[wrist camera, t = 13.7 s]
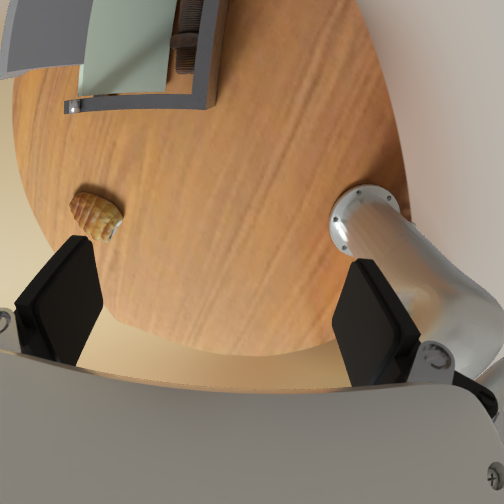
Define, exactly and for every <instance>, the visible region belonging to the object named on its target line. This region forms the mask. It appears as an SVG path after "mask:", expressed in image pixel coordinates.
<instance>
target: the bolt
mask: <svg viewBox="0 0 504 504" xmlns="http://www.w3.org/2000/svg"><path fill="white" fill-rule="evenodd" d="M203 2H204V0H181V4H180V5H181V6H180V15H179V16H180V17H179V24H178V25H179V26H178V27H179V28H178V33H177V34H175V35H173V36H172V37H171V38H170V47H171V48H172V49H174V50H177V52H176V53H177V54H176V55H177V56H176V60H177V61H176V66H175V67H176V68H175V69H176V72H177V73H178V74H188V73H190V74H194V67H195V59H196V51H197V43H198V36H199V28H200V22H201V15H202V9H203Z"/></svg>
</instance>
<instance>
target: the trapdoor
mask: <svg viewBox="0 0 504 504" xmlns="http://www.w3.org/2000/svg"><path fill="white" fill-rule="evenodd" d="M176 3H177V0H10V2H9V6H8V10H7V15H6V20H5V25H4V31H3V36H2V43H1V51H0V80H2V79H8V78H13V77H19V76H21V75H23V74H25V73H26V72H28V71H30V70H33V69H40V68H49V67H60V66H73V65H80V72H79V86H78V97H79V96H88V95H99V94H112V93H130V92H165V88H166V78H167V68H168V59H169V50H170V38H171V35H172V28H173V21H174V15H175V9H176Z"/></svg>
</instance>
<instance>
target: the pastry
mask: <svg viewBox="0 0 504 504" xmlns="http://www.w3.org/2000/svg"><path fill="white" fill-rule="evenodd" d="M69 205H70V208H71V212H72V214H73V216H74V219H75V220H76V221H77V222H78V223H79V226H80V227H82V228H83V229H84V231H85V232H86V234H91V236H92V238H93V239H94V240H101V241H102V242H105V243H107V242H109V241H110V239H111V236H112V235H113V234H114V233H115V232H116V229H117V226H119V225H120V224H121V222H122V221H123V217H122V215H121V213H120V212H119V210H118V208H117V207H116V206H115V205H114V204H112V203H111V202H110V201H108V200H106V199H104V198H102V197H99V196H96V195H94V194H91V193H88V192H81V193H77V194H76V195H75V196H74V198H73V199H72V201H71V202H70V204H69Z"/></svg>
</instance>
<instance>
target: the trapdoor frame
mask: <svg viewBox="0 0 504 504" xmlns="http://www.w3.org/2000/svg"><path fill="white" fill-rule="evenodd" d="M228 3H229V0H204V2H203V9H202V15H201V22H200V28H199V36H198V43H197V51H196V59H195V67H194V76H193V86H192V95H191V94H140V95H119V96H108V94H99V95H94V97H92V98H83V99H75V100H68V101H64V114H68V113H69V114H74V113H80V112H88V111H101V110H118V109H198V110H207V109H209V108H211V107H214V106H215V104H216V95H217V85H218V77H219V68H220V60H221V52H222V44H223V37H224V30H225V23H226V16H227V9H228Z"/></svg>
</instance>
